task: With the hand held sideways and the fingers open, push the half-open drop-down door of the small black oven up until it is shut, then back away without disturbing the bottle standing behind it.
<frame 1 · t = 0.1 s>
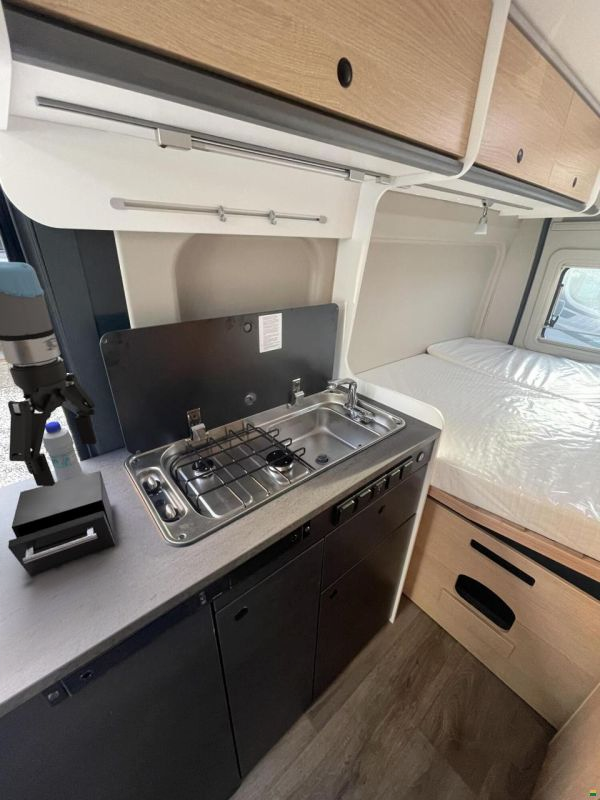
hand: (70, 462, 65), 25 cm above the table, tool pointing down, fingers open, 13 cm apart
bottle: (72, 481, 98), on the table
oven door: (67, 550, 69), point 6 cm above the table, hinge at 14.1°
oven: (76, 537, 79), on the table
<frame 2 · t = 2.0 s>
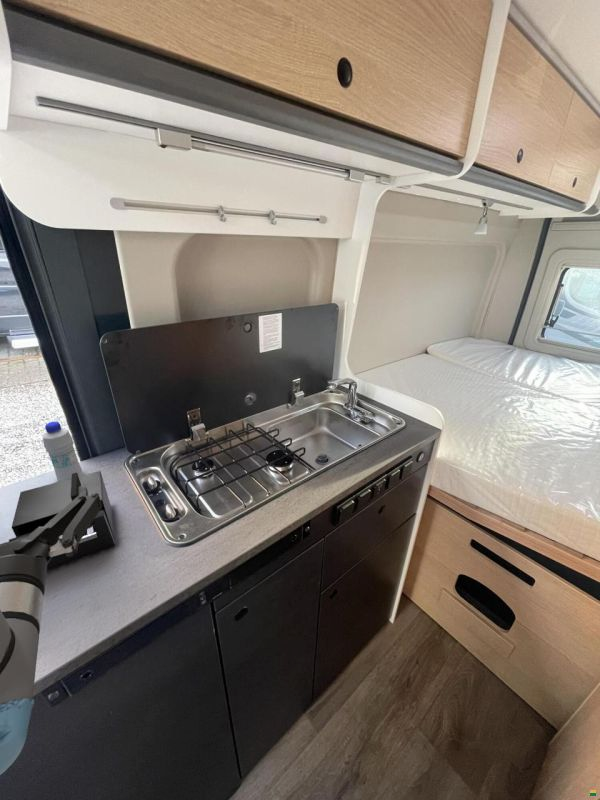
hand: (27, 492, 53), 28 cm above the table, tool horizontal, fingers open, 13 cm apart
oven door: (67, 549, 69), point 6 cm above the table, hinge at 13.0°
everything else where it was.
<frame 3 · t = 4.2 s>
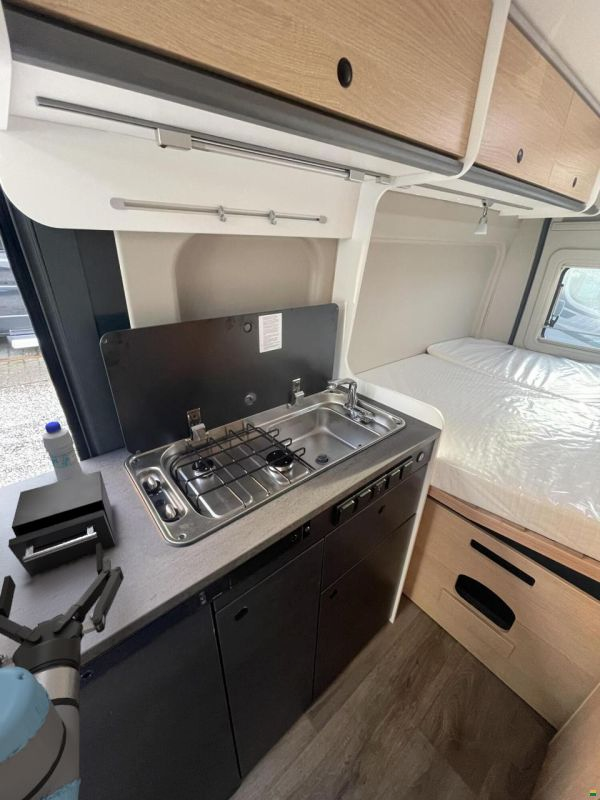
hand: (57, 563, 60), 11 cm above the table, tool horizontal, fingers open, 13 cm apart
nothing on the table moved.
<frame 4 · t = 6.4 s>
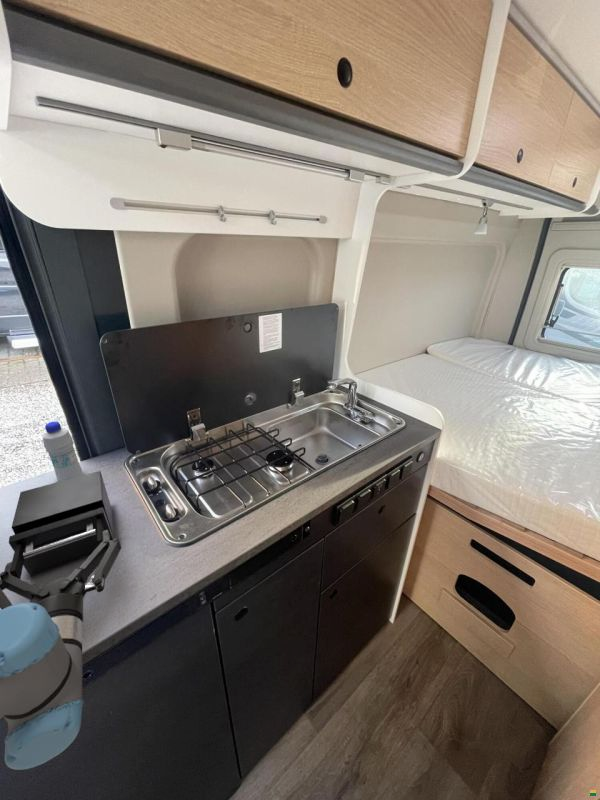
hand: (62, 535, 67), 10 cm above the table, tool horizontal, fingers open, 13 cm apart
oven door: (67, 548, 69), point 6 cm above the table, hinge at 9.4°, touching gripper
everything else where it was.
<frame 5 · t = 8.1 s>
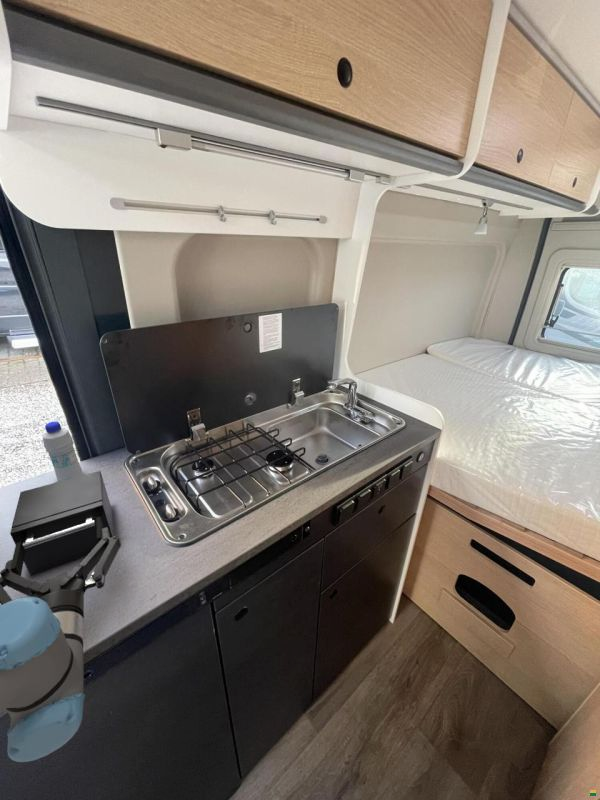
hand: (62, 533, 68), 10 cm above the table, tool horizontal, fingers open, 13 cm apart
oven door: (67, 543, 70), point 7 cm above the table, hinge at -0.8°
everything else where it was.
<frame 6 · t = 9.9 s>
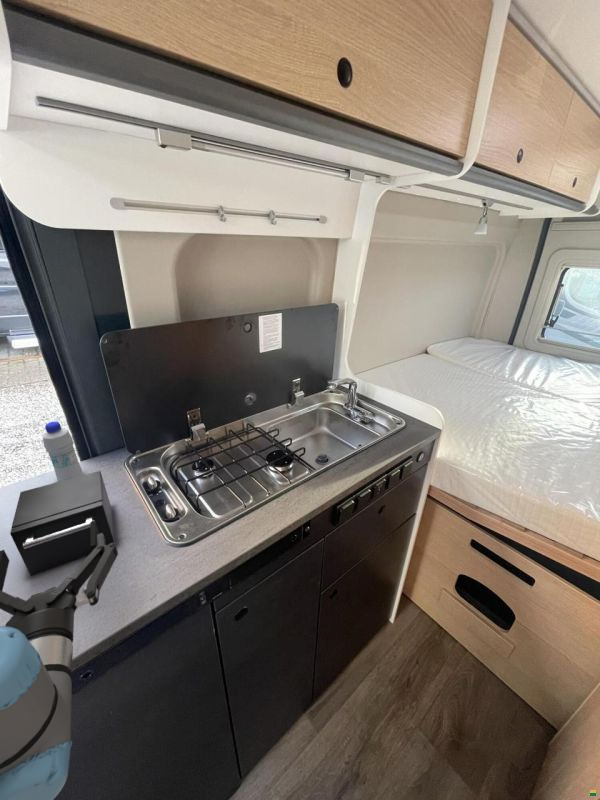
hand: (51, 540, 60), 15 cm above the table, tool horizontal, fingers open, 13 cm apart
nothing on the table moved.
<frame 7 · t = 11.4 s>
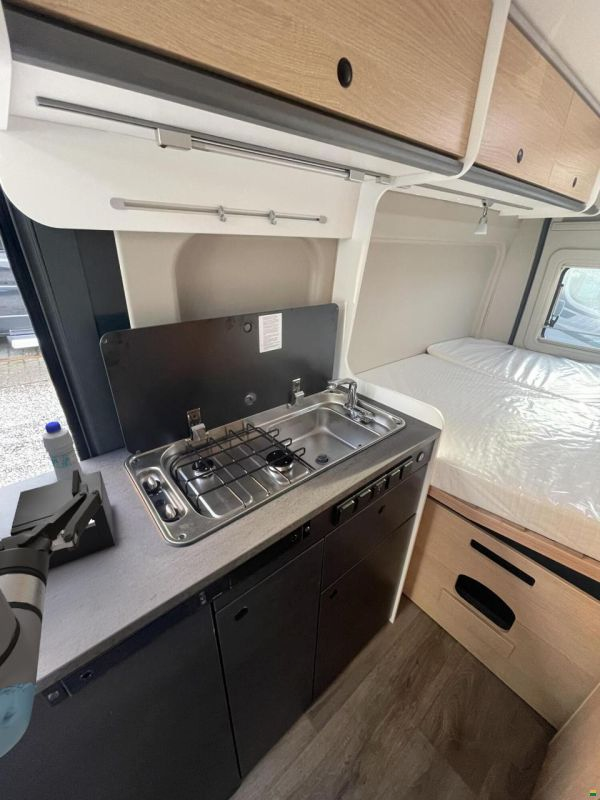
hand: (29, 488, 55), 27 cm above the table, tool horizontal, fingers open, 13 cm apart
nothing on the table moved.
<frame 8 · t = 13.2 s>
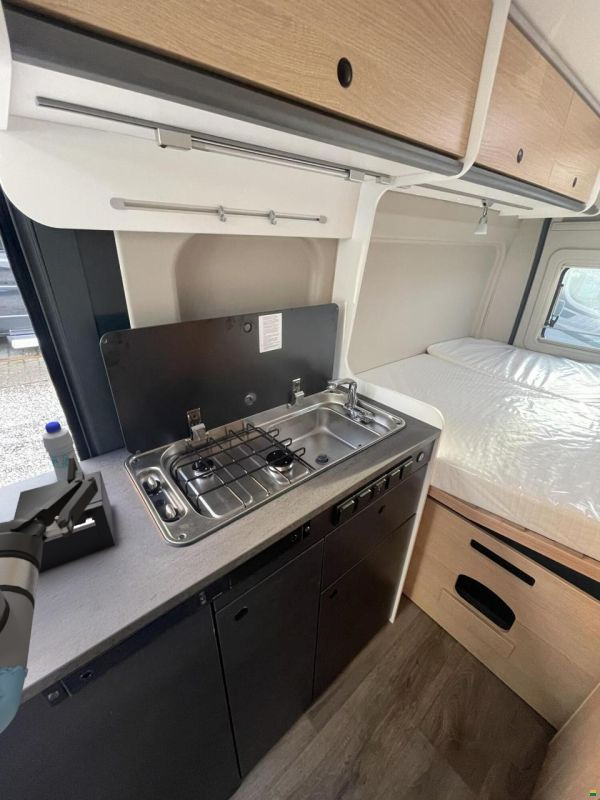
hand: (24, 476, 54), 30 cm above the table, tool horizontal, fingers open, 13 cm apart
nothing on the table moved.
at the end: oven door at -1° (first picture: +15°); bottle moved 0.2 cm from its start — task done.
